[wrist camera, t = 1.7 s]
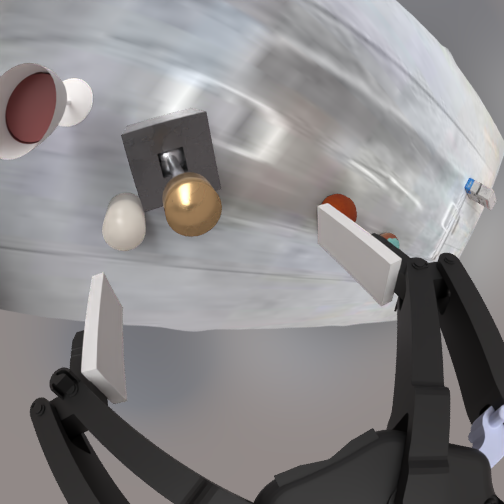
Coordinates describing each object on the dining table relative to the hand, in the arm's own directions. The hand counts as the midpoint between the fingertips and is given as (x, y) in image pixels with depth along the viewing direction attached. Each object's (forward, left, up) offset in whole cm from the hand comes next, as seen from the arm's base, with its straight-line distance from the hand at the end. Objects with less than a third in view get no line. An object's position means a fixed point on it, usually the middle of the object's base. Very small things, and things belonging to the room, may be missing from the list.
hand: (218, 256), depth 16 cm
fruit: (+31, -21, -36) cm, 51 cm away
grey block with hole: (0, 0, -35) cm, 35 cm away
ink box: (+99, -29, -35) cm, 109 cm away
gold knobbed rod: (0, 0, -25) cm, 25 cm away
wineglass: (-14, +13, -35) cm, 40 cm away
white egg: (-10, -9, -35) cm, 38 cm away
